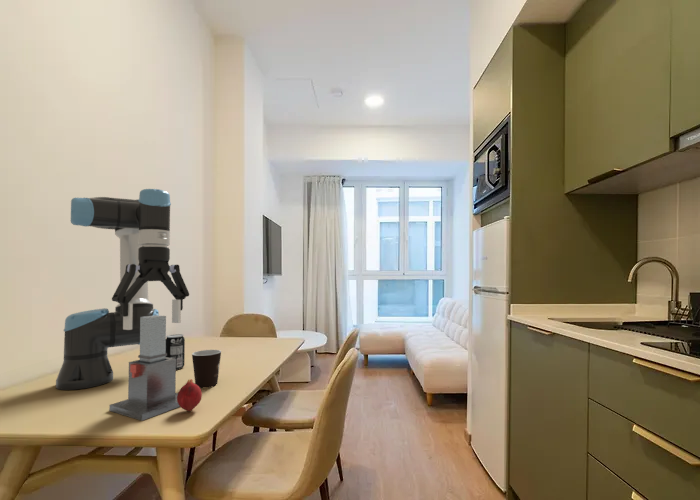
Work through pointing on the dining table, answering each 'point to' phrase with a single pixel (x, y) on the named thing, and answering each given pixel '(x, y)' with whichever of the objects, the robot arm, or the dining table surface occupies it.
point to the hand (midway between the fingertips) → (153, 326)
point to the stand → (149, 390)
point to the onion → (189, 396)
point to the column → (152, 339)
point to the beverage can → (176, 349)
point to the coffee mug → (206, 367)
